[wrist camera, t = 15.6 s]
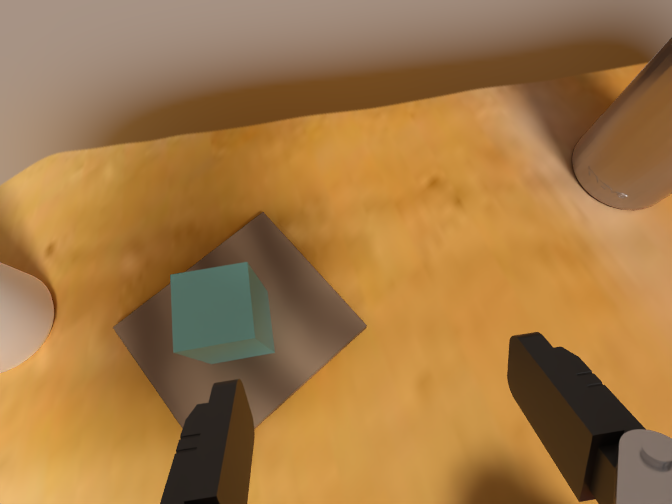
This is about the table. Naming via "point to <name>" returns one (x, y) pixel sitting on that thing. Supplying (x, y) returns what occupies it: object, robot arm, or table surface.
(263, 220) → the post board
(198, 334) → the tall teal pillar
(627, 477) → the robot arm
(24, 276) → the alcohol
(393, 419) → the table surface
